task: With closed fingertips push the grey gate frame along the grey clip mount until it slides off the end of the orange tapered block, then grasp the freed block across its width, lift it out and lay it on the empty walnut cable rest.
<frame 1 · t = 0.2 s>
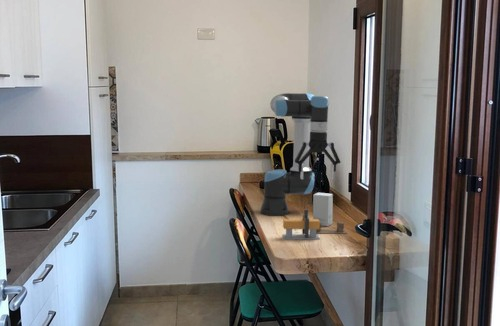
hand: (316, 179, 230), 27 cm above the breakfast bar, fingers open, 13 cm apart
grey gate frame: (305, 222, 233), point 7 cm above the breakfast bar, slide at 0.0 cm
skincare box: (322, 224, 258), on the breakfast bar
clip mount: (300, 237, 234), on the breakfast bar
rest: (328, 231, 244), on the breakfast bar
orange tapered block: (301, 227, 234), point 4 cm above the breakfast bar, touching clip mount
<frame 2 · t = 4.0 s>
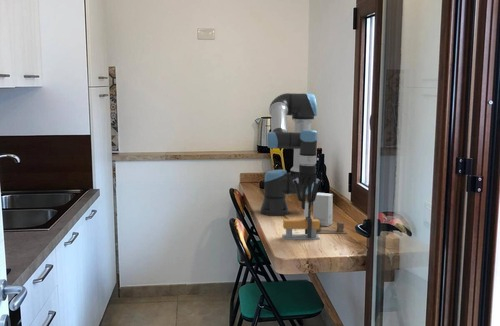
hand: (305, 216, 233), 10 cm above the breakfast bar, fingers closed
grey gate frame: (308, 222, 234), point 7 cm above the breakfast bar, slide at 1.3 cm, touching gripper
everything else where it was.
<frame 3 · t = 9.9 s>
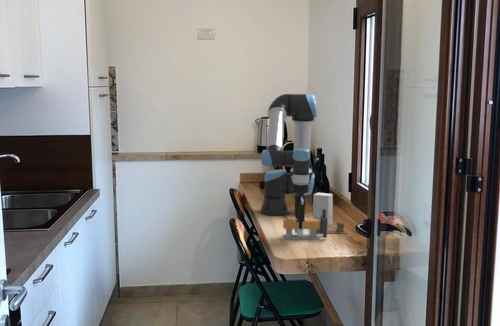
hand: (298, 233, 234), 2 cm above the breakfast bar, fingers closed on orange tapered block, 4 cm apart
grey gate frame: (323, 222, 234), point 7 cm above the breakfast bar, slide at 8.3 cm
orange tapered block: (301, 227, 234), point 5 cm above the breakfast bar, touching clip mount, gripper
everything else where it was.
when the fingers open (2 cm above the breakfast bar, at t = 15.0 s): orange tapered block stays where it is, resting on rest.
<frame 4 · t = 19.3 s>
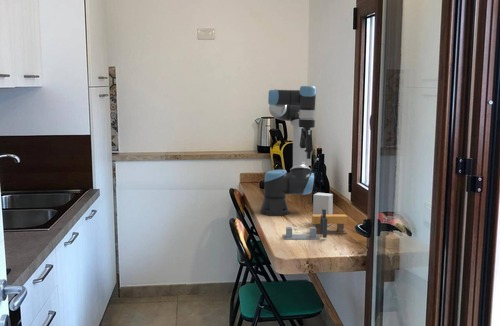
hand: (305, 163, 246), 32 cm above the breakfast bar, fingers open, 13 cm apart
orange tapered block: (329, 222, 244), point 4 cm above the breakfast bar, touching rest
everything else where it was.
at the end: grey gate frame slide at 8.3 cm; orange tapered block 0.0 cm off-centre on the rest, point 4.5 cm above the rest's base; the gripper is holding nothing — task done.
